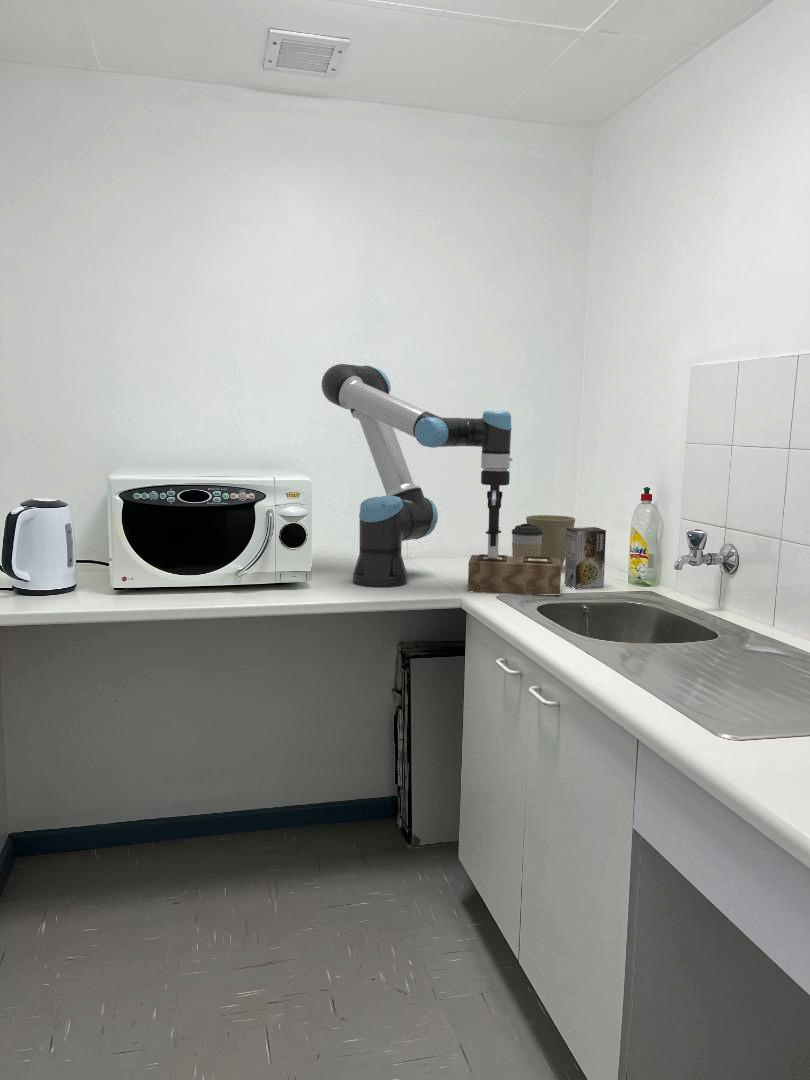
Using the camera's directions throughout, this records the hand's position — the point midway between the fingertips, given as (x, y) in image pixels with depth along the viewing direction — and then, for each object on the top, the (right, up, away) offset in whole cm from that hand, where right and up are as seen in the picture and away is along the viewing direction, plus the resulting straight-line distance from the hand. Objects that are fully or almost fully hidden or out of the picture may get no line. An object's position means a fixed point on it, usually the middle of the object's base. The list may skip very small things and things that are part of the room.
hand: (492, 557), depth 222 cm
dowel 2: (+12, -7, -1) cm, 14 cm away
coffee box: (+26, -8, +7) cm, 28 cm away
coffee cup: (+12, -6, +21) cm, 24 cm away
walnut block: (+6, -9, 0) cm, 10 cm away
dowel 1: (0, -7, +1) cm, 7 cm away
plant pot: (+21, -4, +33) cm, 39 cm away
